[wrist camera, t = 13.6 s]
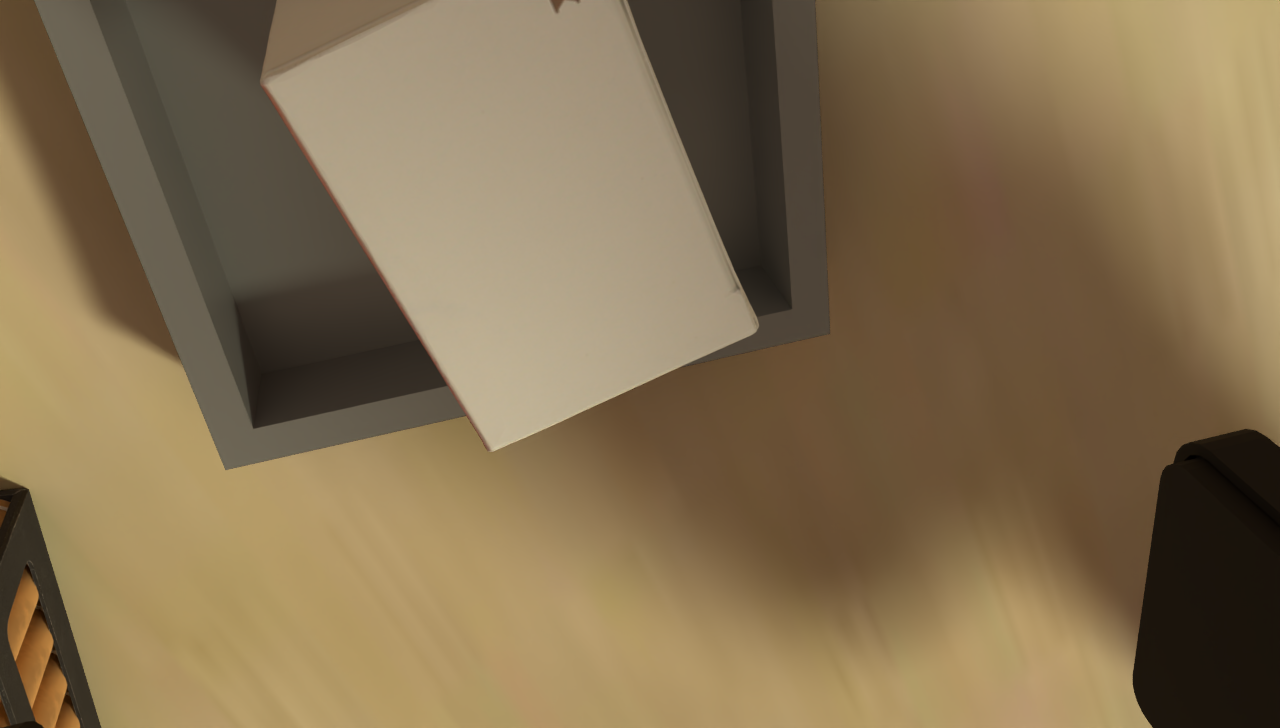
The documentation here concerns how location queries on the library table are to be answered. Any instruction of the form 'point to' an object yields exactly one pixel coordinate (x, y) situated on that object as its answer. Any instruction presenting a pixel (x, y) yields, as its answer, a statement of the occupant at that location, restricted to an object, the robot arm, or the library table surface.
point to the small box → (511, 194)
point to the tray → (325, 245)
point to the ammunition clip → (36, 629)
